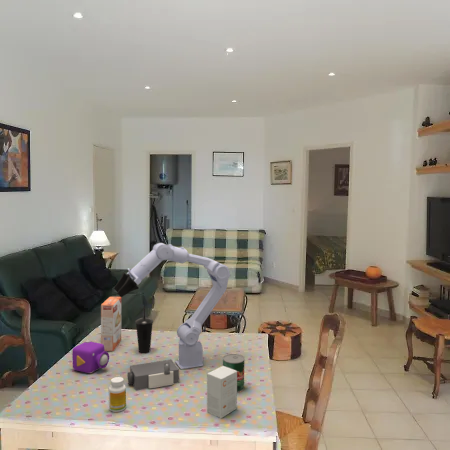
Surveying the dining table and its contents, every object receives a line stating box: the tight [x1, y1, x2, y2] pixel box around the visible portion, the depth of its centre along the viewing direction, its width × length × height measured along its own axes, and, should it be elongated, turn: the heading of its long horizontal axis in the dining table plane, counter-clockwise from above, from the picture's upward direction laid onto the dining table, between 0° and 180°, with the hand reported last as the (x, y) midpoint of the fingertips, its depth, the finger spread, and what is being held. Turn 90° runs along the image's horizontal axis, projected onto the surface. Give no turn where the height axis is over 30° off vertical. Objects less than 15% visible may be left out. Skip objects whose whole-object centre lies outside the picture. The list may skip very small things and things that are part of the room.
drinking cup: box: [134, 306, 154, 355], centre depth 189 cm, size 8×8×20 cm
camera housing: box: [126, 359, 180, 391], centre depth 162 cm, size 18×10×5 cm, turn 113°
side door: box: [147, 363, 174, 389], centre depth 156 cm, size 9×2×8 cm, turn 114°
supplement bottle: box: [108, 376, 127, 413], centre depth 142 cm, size 5×5×10 cm
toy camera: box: [71, 339, 110, 374], centre depth 171 cm, size 11×14×10 cm
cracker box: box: [100, 296, 122, 352], centre depth 195 cm, size 14×6×21 cm, turn 179°
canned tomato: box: [222, 353, 246, 393], centre depth 157 cm, size 8×8×11 cm
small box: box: [206, 365, 238, 419], centre depth 141 cm, size 8×6×13 cm
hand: (117, 292), depth 163 cm, fingers open, 7 cm apart
